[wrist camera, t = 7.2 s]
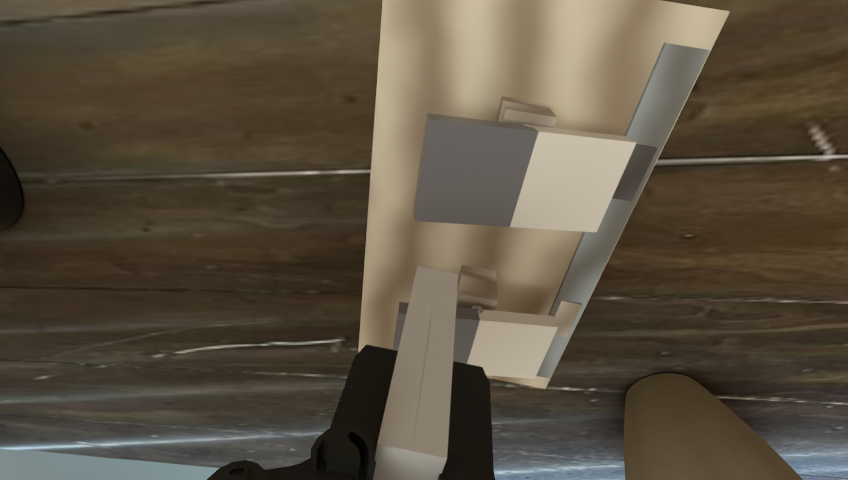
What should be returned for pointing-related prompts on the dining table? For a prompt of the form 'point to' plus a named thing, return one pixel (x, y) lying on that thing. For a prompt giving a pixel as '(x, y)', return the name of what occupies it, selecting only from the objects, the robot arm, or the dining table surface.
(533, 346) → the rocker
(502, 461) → the dining table surface
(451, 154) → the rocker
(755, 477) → the plant pot
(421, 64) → the switch console
